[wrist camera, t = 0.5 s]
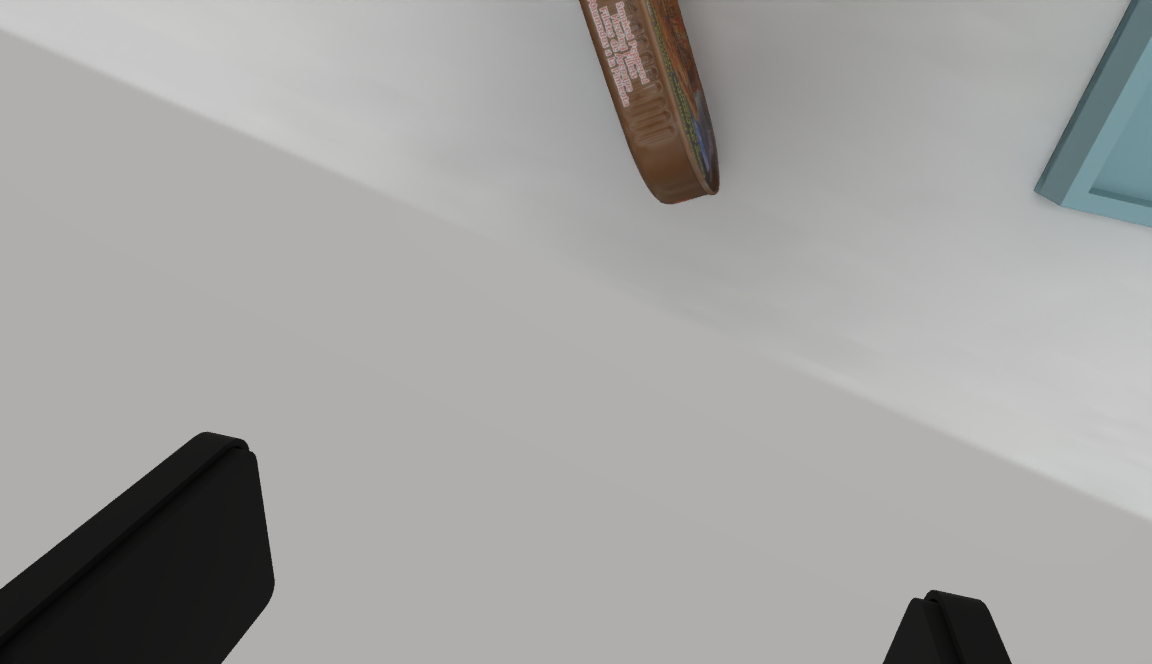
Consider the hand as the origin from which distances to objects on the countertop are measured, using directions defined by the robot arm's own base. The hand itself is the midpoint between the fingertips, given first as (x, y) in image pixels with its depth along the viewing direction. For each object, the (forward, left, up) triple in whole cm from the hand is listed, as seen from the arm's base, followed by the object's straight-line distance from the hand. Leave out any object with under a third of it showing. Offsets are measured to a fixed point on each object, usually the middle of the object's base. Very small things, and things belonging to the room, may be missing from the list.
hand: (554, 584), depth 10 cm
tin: (-6, -3, -30) cm, 31 cm away
